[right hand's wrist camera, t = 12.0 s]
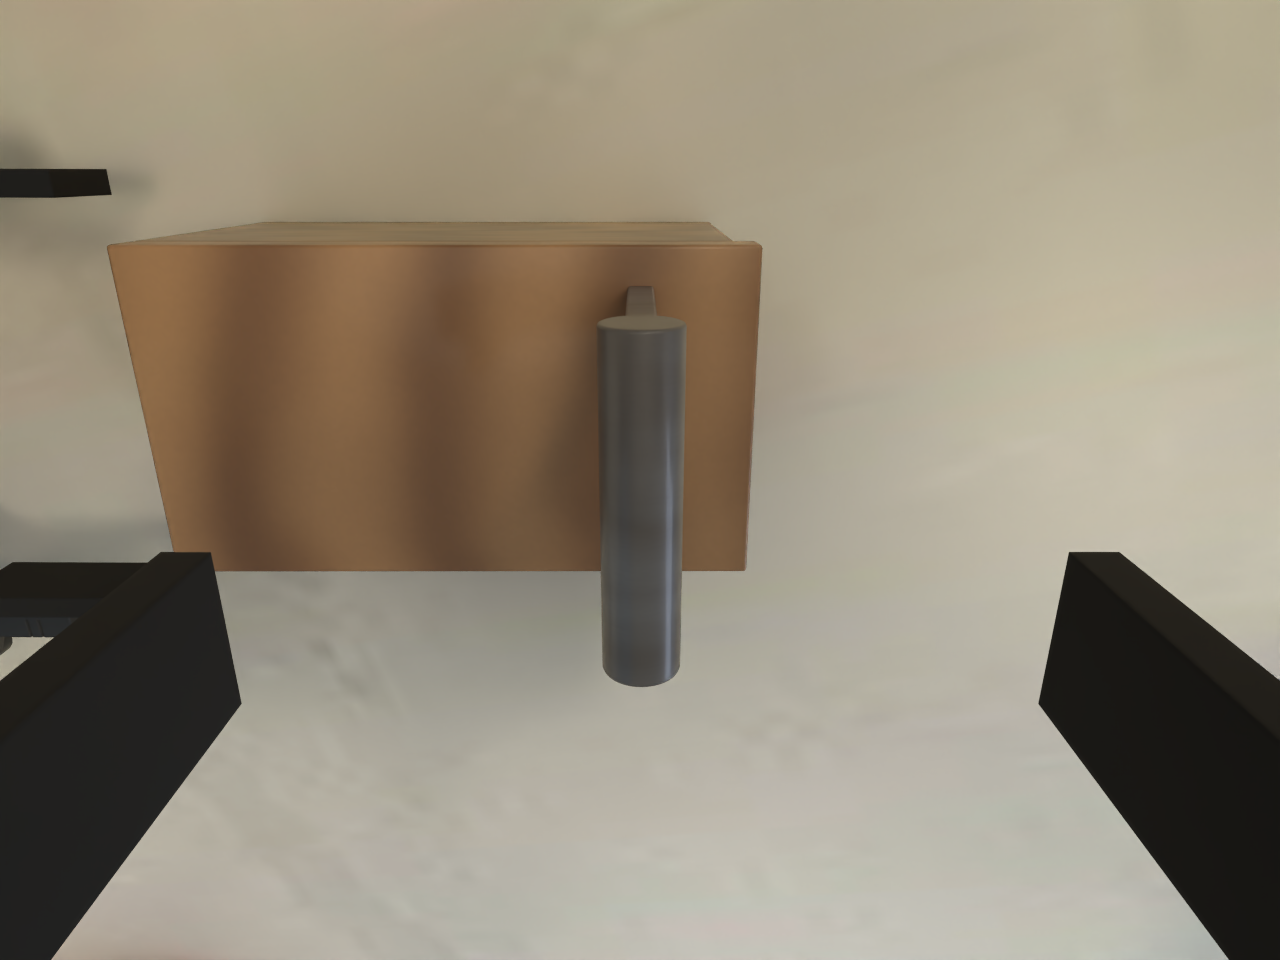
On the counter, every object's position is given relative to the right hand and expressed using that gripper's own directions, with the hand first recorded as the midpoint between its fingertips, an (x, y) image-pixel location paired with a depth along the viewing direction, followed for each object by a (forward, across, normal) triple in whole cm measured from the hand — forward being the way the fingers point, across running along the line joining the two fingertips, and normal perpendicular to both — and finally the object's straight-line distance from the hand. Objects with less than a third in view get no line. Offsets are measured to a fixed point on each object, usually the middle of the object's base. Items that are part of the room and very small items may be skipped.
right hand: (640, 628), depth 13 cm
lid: (+12, -5, 0) cm, 14 cm away
